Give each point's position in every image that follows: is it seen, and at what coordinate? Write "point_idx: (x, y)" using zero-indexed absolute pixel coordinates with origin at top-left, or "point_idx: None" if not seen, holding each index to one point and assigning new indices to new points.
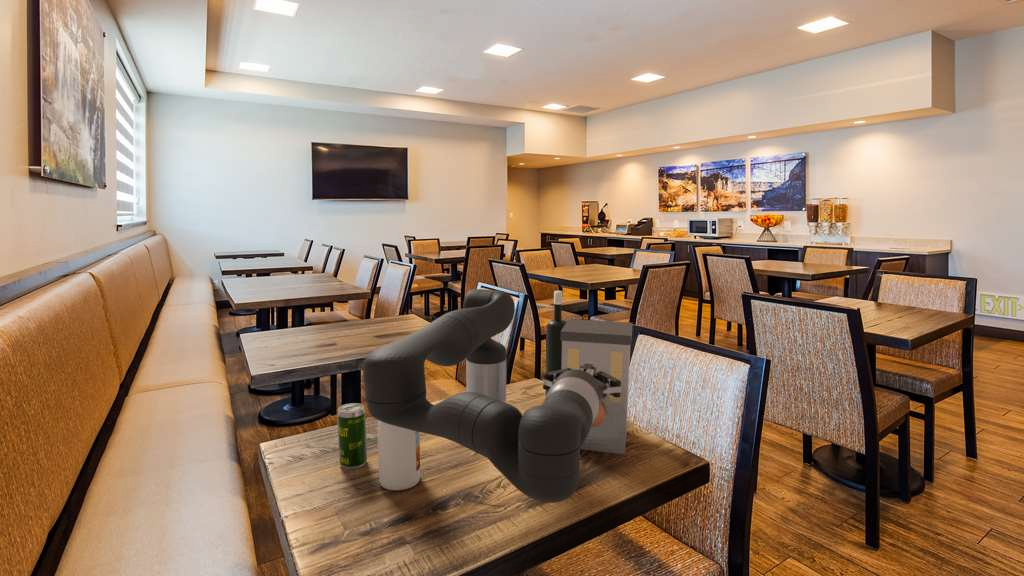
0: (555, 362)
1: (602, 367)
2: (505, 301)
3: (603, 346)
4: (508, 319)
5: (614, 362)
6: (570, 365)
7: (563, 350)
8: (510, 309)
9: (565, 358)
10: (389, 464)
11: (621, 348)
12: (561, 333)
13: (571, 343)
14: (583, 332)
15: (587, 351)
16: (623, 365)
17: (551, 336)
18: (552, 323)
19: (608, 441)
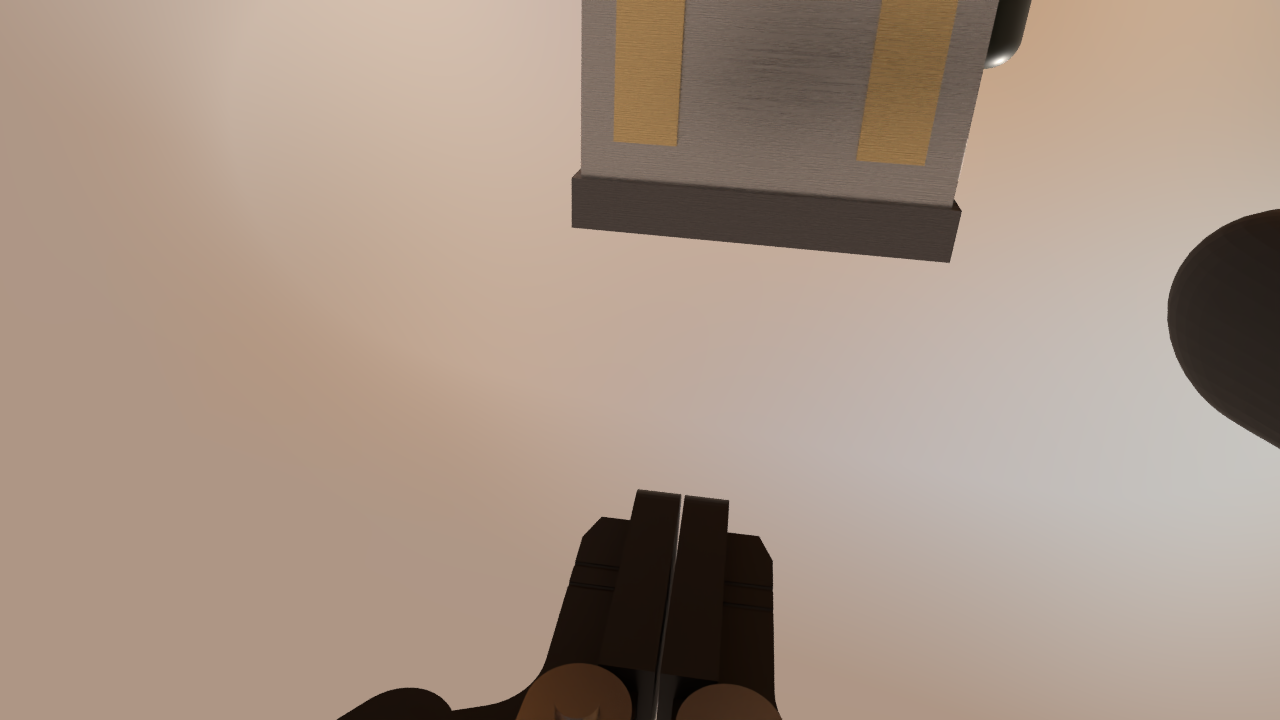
0: None
1: (730, 40)
2: (1230, 399)
3: (717, 168)
4: (1247, 297)
5: (658, 77)
6: (927, 52)
7: (955, 147)
8: (1210, 333)
9: (952, 95)
10: None
11: (622, 156)
12: (947, 250)
13: (898, 188)
14: (820, 248)
15: (810, 141)
16: (610, 56)
17: (1009, 6)
18: (992, 63)
19: None
